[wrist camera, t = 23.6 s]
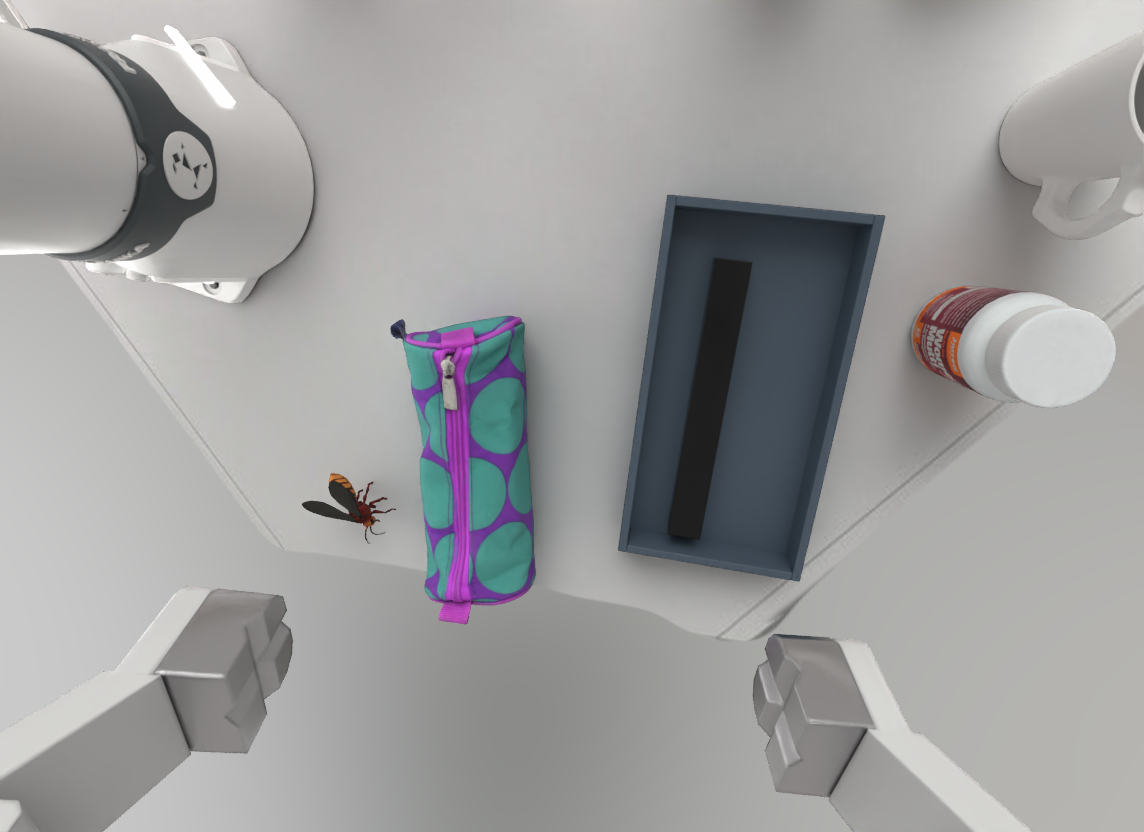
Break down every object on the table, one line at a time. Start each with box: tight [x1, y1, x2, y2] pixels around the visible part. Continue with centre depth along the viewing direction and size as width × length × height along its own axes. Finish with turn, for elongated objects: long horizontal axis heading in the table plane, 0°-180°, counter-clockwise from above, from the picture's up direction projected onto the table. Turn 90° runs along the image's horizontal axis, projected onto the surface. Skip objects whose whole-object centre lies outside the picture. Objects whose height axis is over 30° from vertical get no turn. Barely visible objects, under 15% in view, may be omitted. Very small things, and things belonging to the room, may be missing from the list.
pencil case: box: [391, 316, 536, 624], centre depth 44 cm, size 21×9×10 cm, turn 2°
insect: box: [302, 473, 396, 542], centre depth 49 cm, size 4×6×5 cm, turn 37°
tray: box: [618, 195, 885, 581], centre depth 43 cm, size 13×25×4 cm, turn 174°
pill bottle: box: [911, 286, 1116, 408], centre depth 36 cm, size 6×6×11 cm
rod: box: [668, 257, 752, 540], centre depth 43 cm, size 2×20×2 cm, turn 173°
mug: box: [999, 30, 1144, 240], centre depth 32 cm, size 10×7×12 cm, turn 164°
